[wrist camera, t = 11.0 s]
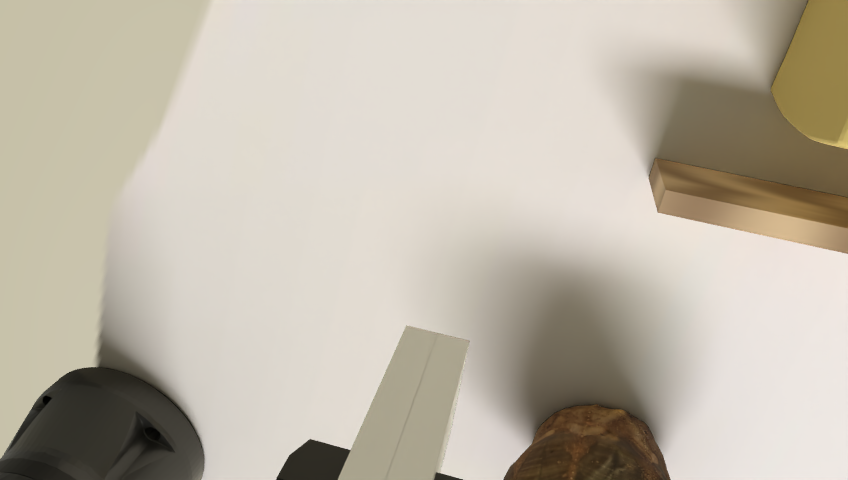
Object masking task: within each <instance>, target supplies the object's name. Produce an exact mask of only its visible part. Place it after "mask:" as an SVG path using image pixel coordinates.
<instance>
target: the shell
mask: <svg viewBox="0 0 848 480" xmlns="http://www.w3.org/2000/svg"><path fill="white" fill-rule="evenodd" d="M503 480H670V477H669V474H668V471H667V468H666V464H665V461H664V458H663V455H662V453H661V451H660V449H659V447H658V445H657V444H656V442H655V440H654V437H653V435H652V433H651V431H650V430H649V427H648V426H647V425H646V424H645V423H644V422H643V421H641V420H639V419H637V418H636V417H634V416H632V415H631V414H629V413H628V412H626V411H624V410H619V409H609V408H605V407H600V406H599V405H598V404H595V405H582V406H574V407H570V408H565V409H563V410H561V411H558V412H556V413H554V414H553V415H552V416H551V417H550V418H548V419H547V420H546V421H545V422H544V423H543V424H542V425H541V426H540V427H539V428H538V430H537V432H536V435H535V437H534V440H533V443H532V445H531V446H530V447H529V448H528V449H527V450H526V451H525V452H524V453H523V454H522V455H521V456H520V457H519V458H518V460H517V461H516V462H515V463H514V464H512V465H511V467H510V468H509V470H508V472H507V473H506V475H505V477H504V479H503Z"/></svg>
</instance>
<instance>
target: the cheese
mask: <svg viewBox="0 0 848 480" xmlns="http://www.w3.org/2000/svg"><path fill="white" fill-rule="evenodd" d="M771 93H772V94H773V97H774V99H775V101H776V104H777V106H778V108H779V110H780V112H781V113H782V114H783V116H784V117H785V118H786V119H787V120H788V121H789V122H790V123H791V124H792V125H793V126H794V127H795V128H796V129H797V130H798V131H800V132H801V133H802V134H803V135H805V136H806V137H808V138H809V139H811V140H814V141H817V142H820V143H824V144H828V145H832V146H836V147H840V148H845V149H848V0H809V1H808V3H807V5H806V8H805V10H804V13H803V15H802V17H801V20H800V22H799V25H798V27H797V30H796V32H795V35H794V37H793V40H792V42H791V44H790V47H789V49H788V51H787V54H786V56H785V58H784V60H783V63H782V65H781V67H780V69H779V71H778V74H777V76H776V78H775V80H774V83H773V85H772V87H771Z"/></svg>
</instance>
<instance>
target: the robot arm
mask: <svg viewBox="0 0 848 480" xmlns="http://www.w3.org/2000/svg"><path fill="white" fill-rule="evenodd" d="M469 342H470V341H468V340H464V339H460V338H456V337H452V336H447V335H443V334H439V333H435V332H431V331H427V330H423V329H419V328H415V327H411V326H407V325H406V328H405V330H404V332H403V334H402V337H401V339H400V341H399V343H398V346H397V348H396V350H395V352H394V355H393V357H392V359H391V361H390V364H389V366H388V368H387V370H386V372H385V375H384V377H383V379H382V381H381V384H380V386H379V388H378V390H377V393H376V395H375V397H374V399H373V402H372V404H371V406H370V408H369V410H368V413H367V415H366V417H365V419H364V422H363V424H362V426H361V428H360V431H359V433H358V435H357V437H356V440H355V442H354V444H353V446H352V449H351V450H348V449H344V448H340V447H337V446H333V445H330V444H326V443H322V442H319V441H315V440H311V439H310V440H308V441H307V442H306V443H305V444H303V445H302V446H301V447H299V448H298V449H297V450H296V451H294V452H293V453H292V454H291V455H289V457H288V459H287V461H286V462H285V464H284V466H283V468H282V469H281V471H280V473H279V475H278V477H277V479H276V480H462V479H459V478H455V477H452V476H448V475H444V474H441V473H440V471H441V467H442V463H443V459H444V455H445V452H446V448H447V444H448V440H449V436H450V432H451V428H452V423H453V418H454V414H455V409H456V404H457V399H458V394H459V390H460V385H461V380H462V375H463V371H464V366H465V361H466V356H467V351H468V347H469ZM203 471H204V457H203V451H202V447H201V444H200V442H199V439H198V437H197V435H196V433H195V431H194V429H193V428H192V426H191V424H190V423H189V421H188V420H187V419H186V417H185V416H184V415H183V414H182V412H181V411H180V410H179V409H178V408H177V407H176V406H175V405H174V404H173V403H172V402H171V401H170V400H169V399H168V398H166V397H165V396H164V395H163V394H161V393H160V392H159V391H157V390H156V389H155V388H153V387H151V386H150V385H148V384H146V383H145V382H143V381H141V380H139V379H137V378H135V377H133V376H130V375H128V374H125V373H122V372H119V371H115V370H111V369H106V368H96V367H91V368H82V369H77V370H74V371H71V372H69V373H67V374H66V375H64V376H63V377H61V378H60V379H59V380H58V381H57V382H55V383H54V384H53V385H52V386H51V387H50V388H48V389H47V390H46V391H45V392H44V393H43V394H42V395H41V396H40V397H39V398H38V399H37V401H36V402H35V404H34V405H33V407H32V409H31V411H30V412H29V414H28V415H27V417H26V419H25V421H24V422H23V424H22V425H21V427H20V428H19V430H18V432H17V433H16V435H15V437H14V439H13V440H12V442H11V443H10V445H9V447H8V448H7V450H6V452H5V453H4V455H3V456H2V458H1V459H0V480H201V478H202V475H203Z"/></svg>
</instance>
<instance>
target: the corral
mask: <svg viewBox="0 0 848 480" xmlns="http://www.w3.org/2000/svg"><path fill="white" fill-rule="evenodd" d="M649 181H650V185H651V189H652V192H653V196H654V200H655V204H656V207H657V211H658V213H663V214H667V215H672V216H676V217H681V218H686V219H690V220H695V221H700V222H704V223H709V224H713V225H718V226H723V227H727V228H732V229H736V230H741V231H746V232H750V233H755V234H759V235H764V236H769V237H773V238H778V239H782V240H787V241H792V242H796V243H801V244H805V245H810V246H815V247H819V248H824V249H828V250H833V251H838V252H842V253H847V254H848V198H847V197H843V196H838V195H833V194H828V193H823V192H818V191H813V190H808V189H804V188H799V187H794V186H789V185H784V184H779V183H774V182H769V181H765V180H760V179H755V178H750V177H745V176H740V175H735V174H730V173H726V172H721V171H716V170H711V169H706V168H701V167H696V166H691V165H687V164H682V163H677V162H672V161H667V160H662V159H657V158H655V161H654V164H653V167H652V170H651V173H650V176H649Z"/></svg>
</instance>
